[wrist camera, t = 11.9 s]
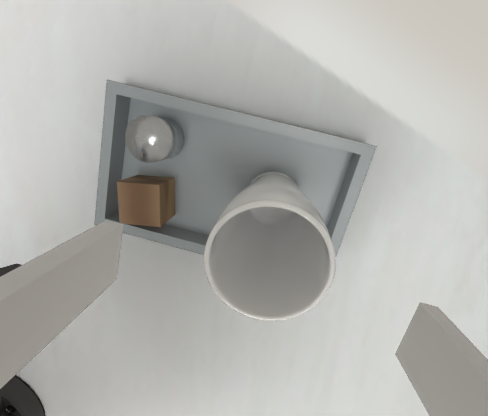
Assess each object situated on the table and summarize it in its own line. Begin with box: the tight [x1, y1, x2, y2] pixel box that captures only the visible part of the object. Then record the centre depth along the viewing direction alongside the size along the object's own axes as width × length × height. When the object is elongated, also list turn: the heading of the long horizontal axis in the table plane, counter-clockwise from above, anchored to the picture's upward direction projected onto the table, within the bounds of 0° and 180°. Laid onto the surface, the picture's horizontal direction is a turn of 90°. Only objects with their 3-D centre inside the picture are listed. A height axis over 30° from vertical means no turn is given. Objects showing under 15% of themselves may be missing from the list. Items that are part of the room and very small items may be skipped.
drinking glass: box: [204, 171, 336, 321], centre depth 21 cm, size 7×7×15 cm
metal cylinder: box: [125, 115, 185, 163], centre depth 26 cm, size 4×4×4 cm
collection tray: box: [95, 80, 377, 257], centre depth 28 cm, size 24×14×3 cm, turn 77°
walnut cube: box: [117, 175, 175, 227], centre depth 28 cm, size 4×4×4 cm
